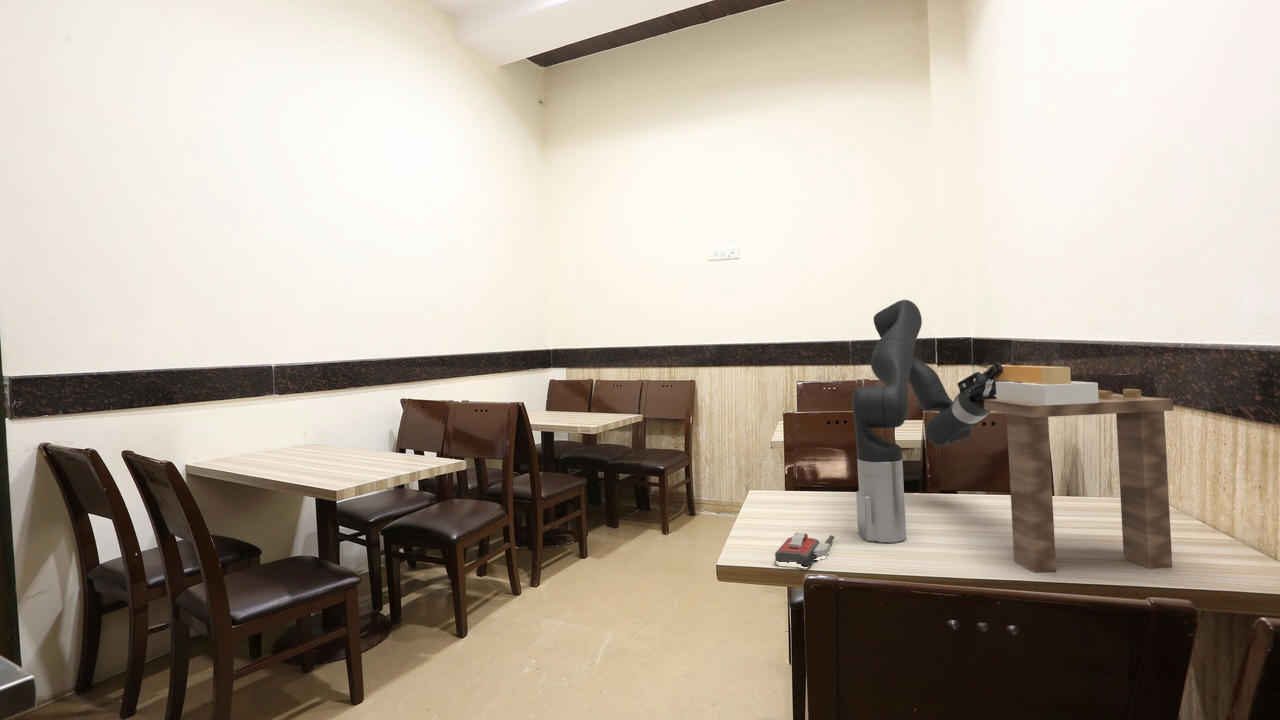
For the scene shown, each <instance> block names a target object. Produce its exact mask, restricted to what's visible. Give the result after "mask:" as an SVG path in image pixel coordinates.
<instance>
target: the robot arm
mask: <svg viewBox="0 0 1280 720" xmlns="http://www.w3.org/2000/svg"><path fill="white" fill-rule="evenodd" d="M922 323H923V319H922V314H921V311H920V309H919V307H918V306H917V305H916V303H914V302H913V301H911V300H908V299H902V300H898V301H895V302H894V303H892V304H891V305H889V306H887V307H885V308H884V309H882V310H879V311H878V312H876V313H875V314H874V317H873V325H874V327H875V330H876V332H877V333H878V336H879V337H880V339H878V341H877V342H876V344H875V346H874V349H873V352H872V355H871V360H870V367H871V368H870V369H871V370H872V372H873V374H874V376H875V377H876V378H877V379H878V380H879V381H880V382H881V383H882V384H884V385H861V386H857V387H856V388H855V389H854V391H853V394H852V414H853V421H854V430H855V433H854V434H855V446H856V459H857V478H858V479H857V480H858V481H857V482H858V490H857V491H856V492H855V495H856V513H857V515H856V516H857V517H856V518H857V530H858V531H857V534H859V535H860V536H861V537H862V538H863V539H864V540H865V541H866V542H875V541H877V542H876V543H886V542H887V543H890V544H891V543H901V542H903V541H905V540H907V525H906V524H907V523H906V522H907V521H906V506H905V503H906V502H905V491H904V490H905V489H904V487H905V485H904V467H903V466H904V465H903V450H902V447H901V446H900V445H898V444H897V443H894V442H891V441H888V440H886V439H883V438H882V437H880V436H879V435H877V434H875V432H874V431H873V428H874V429H881V428H882V429H892V428H893V429H894V428H899V427H902V425H904V423H905V421H906V417H907V414H908V397H909V395H908V394H909V392H908V391H909V384H910V387H911V388H912V391H913V392H914V395H915V398H916V399H917V401H918V404H919V405H920V407H921V409H922V410H923V411H925V412H939V413H938V414H936V415H935V416H933V417H932V418H931V419H930V420H929V421H928V422H927V424H926V426H925V435H926V439H927V440H928V442H929V443H931V445H934V446H937V447H945V446H949V445H952V444H955V443H958V442H962V441H965V440H967V439H969V438H970V437H971V436H972V433H973V432H972V431H973V429H972V428H973V427H974V426H975V425H977V424H978V423H979V422H980V421H981V420H984V418H986V417H987V416H988V415H989V414H990V413H991V412H992V411H990V410H984V400H989V399H997V398H996V382H1014V381H1001V380H993V379H996V378H997V377H998V376H999V375H1000V374H1001V373H1002V372H1003V369H1002V366H1001V365H1002V363H1001V362H995V363H994V364H993V366H992V365H990V366H991V367H990V369H989V370H987V369H986V370H984V371H983V372H982V373H981V372H980V371H978V372H977V371H976V372H974V373H972V374H971V375H969V376H967V377H965V378H964V379H962V380H960V381H959V382H957V387H958V390H959V392H958V394H956V396H955V398H954V400H952V399H951V398H950V397H949V395H948V393H947V391H946V388H945V386H944V385H943V383H942V381H941V378H940V377H939V375H938V374H937V372H936V371H935V370H934V369H933V368H932V367H930V366H929V365H928V364H926V363H925V362H923V361H921V360H920V359H918V358H916V357H915V356H914V351H915V346H916V342H917V338H918V335H919V333H920V330H921V328H922ZM1011 365H1018V366H1022V365H1021V363H1020V361H1014V362H1012V363H1011ZM1014 383H1024V382H1014ZM887 543H886V544H887Z"/></svg>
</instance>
